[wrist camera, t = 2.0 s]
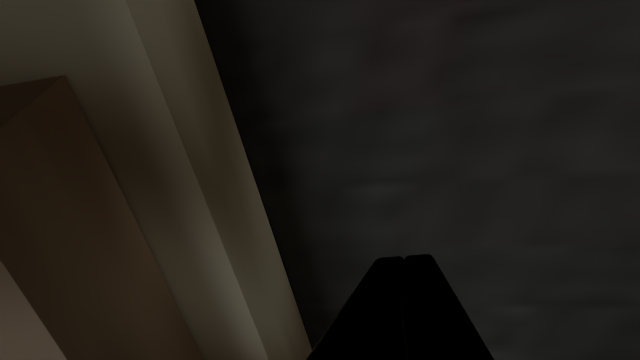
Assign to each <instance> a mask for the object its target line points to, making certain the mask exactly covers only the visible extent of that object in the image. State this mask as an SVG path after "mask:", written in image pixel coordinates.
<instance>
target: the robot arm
mask: <svg viewBox="0 0 640 360" xmlns="http://www.w3.org/2000/svg"><path fill="white" fill-rule="evenodd" d="M306 360H494V359H493V357H492V355H491V354H490V352H489V350H488V349H487V347H486V345H485V343H484V342H483V340H482V338H481V337H480V335H479V333H478V332H477V330H476V328H475V327H474V325H473V323H472V322H471V320H470V318H469V317H468V315H467V313H466V311H465V310H464V308H463V306H462V305H461V303H460V301H459V300H458V298H457V296H456V295H455V293H454V291H453V290H452V288H451V286H450V285H449V283H448V281H447V280H446V278H445V276H444V274H443V273H442V271H441V269H440V268H439V266H438V264H437V263H436V261H435V259H434V258H433V257H432V256H431V255H429V254H423V255H410V256H407V257H406V258H405V259H403V258H402V257H400V256H397V257H384V258H378V259H377V260H375V262H374V263H373V265H372V266H371V267H370V269H369V270H368V272H367V273H366V275H365V276H364V277H363V279H362V280H361V282H360V283H359V284H358V286H357V287H356V289H355V290H354V292H353V293H352V294H351V296H350V297H349V299H348V300H347V302H346V303H345V304H344V306H343V307H342V309H341V310H340V312H339V313H338V314H337V316H336V317H335V319H334V320H333V322H332V323H331V324H330V326H329V327H328V329H327V330H326V331H325V333H324V334H323V336H322V337H321V339H320V340H319V341H318V343H317V344H316V346H315V347H314V349H313V350H312V351H311V353H310V354H309V356H308V357H307V359H306Z"/></svg>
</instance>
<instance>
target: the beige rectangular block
mask: <svg viewBox="0 0 640 360" xmlns="http://www.w3.org/2000/svg"><path fill="white" fill-rule="evenodd" d="M62 75H65V77H66V79H67V81H68V83H69V85H70V87H71V89H72V91H73V93H74V95H75V97H76V99H77V101H78V103H79V105H80V107H81V109H82V112H83V114H84V116H85V118H86V120H87V122H88V124H89V126H90V128H91V130H92V132H93V134H94V136H95V138H96V140H97V142H98V144H99V146H100V148H101V151H102V153H103V155H104V157H105V159H106V161H107V163H108V165H109V167H110V169H111V171H112V173H113V175H114V177H115V179H116V181H117V183H118V185H119V188H120V190H121V192H122V194H123V196H124V198H125V200H126V202H127V204H128V206H129V208H130V210H131V212H132V214H133V216H134V218H135V220H136V222H137V224H138V227H139V229H140V231H141V233H142V235H143V237H144V239H145V241H146V243H147V245H148V247H149V249H150V251H151V253H152V255H153V257H154V259H155V261H156V263H157V266H158V268H159V270H160V272H161V274H162V276H163V278H164V280H165V282H166V284H167V286H168V288H169V290H170V292H171V294H172V296H173V298H174V300H175V302H176V305H177V307H178V309H179V311H180V313H181V315H182V317H183V319H184V321H185V323H186V325H187V327H188V329H189V331H190V333H191V335H192V337H193V339H194V341H195V344H196V346H197V348H198V350H199V352H200V354H201V356H202V358H203V360H306V359H307V357H308V356H309V354H310V353H311V351H312V349H311V346H310V343H309V340H308V337H307V334H306V331H305V328H304V325H303V322H302V319H301V316H300V313H299V310H298V307H297V304H296V301H295V298H294V295H293V292H292V289H291V286H290V283H289V280H288V277H287V274H286V272H285V269H284V266H283V263H282V260H281V257H280V254H279V251H278V248H277V245H276V242H275V239H274V236H273V233H272V230H271V227H270V224H269V221H268V218H267V215H266V212H265V209H264V206H263V203H262V200H261V197H260V194H259V191H258V188H257V185H256V182H255V180H254V177H253V174H252V171H251V168H250V165H249V162H248V159H247V156H246V153H245V150H244V147H243V144H242V141H241V138H240V135H239V132H238V129H237V126H236V123H235V120H234V117H233V114H232V111H231V108H230V105H229V102H228V99H227V96H226V93H225V91H224V88H223V85H222V82H221V79H220V76H219V73H218V70H217V67H216V64H215V61H214V58H213V55H212V52H211V49H210V46H209V43H208V40H207V37H206V34H205V31H204V28H203V25H202V22H201V19H200V16H199V13H198V10H197V7H196V4H195V2H194V0H0V86H5V85H11V84H17V83H22V82H28V81H34V80H39V79H45V78H51V77H57V76H62Z"/></svg>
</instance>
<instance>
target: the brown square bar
mask: <svg viewBox="0 0 640 360" xmlns="http://www.w3.org/2000/svg"><path fill="white" fill-rule="evenodd" d="M0 360H203V358H202V356H201V354H200V352H199V350H198V348H197V346H196V344H195V341H194V339H193V337H192V335H191V333H190V331H189V329H188V327H187V325H186V323H185V321H184V319H183V317H182V315H181V313H180V311H179V309H178V307H177V305H176V302H175V300H174V298H173V296H172V294H171V292H170V290H169V288H168V286H167V284H166V282H165V280H164V278H163V276H162V274H161V272H160V270H159V268H158V266H157V263H156V261H155V259H154V257H153V255H152V253H151V251H150V249H149V247H148V245H147V243H146V241H145V239H144V237H143V235H142V233H141V231H140V229H139V227H138V224H137V222H136V220H135V218H134V216H133V214H132V212H131V210H130V208H129V206H128V204H127V202H126V200H125V198H124V196H123V194H122V192H121V190H120V188H119V185H118V183H117V181H116V179H115V177H114V175H113V173H112V171H111V169H110V167H109V165H108V163H107V161H106V159H105V157H104V155H103V153H102V151H101V148H100V146H99V144H98V142H97V140H96V138H95V136H94V134H93V132H92V130H91V128H90V126H89V124H88V122H87V120H86V118H85V116H84V114H83V112H82V109H81V107H80V105H79V103H78V101H77V99H76V97H75V95H74V93H73V91H72V89H71V87H70V85H69V83H68V81H67V79H66V77H65V75H62V76H57V77H51V78H45V79H39V80H34V81H28V82H22V83H17V84H11V85H5V86H0Z"/></svg>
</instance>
